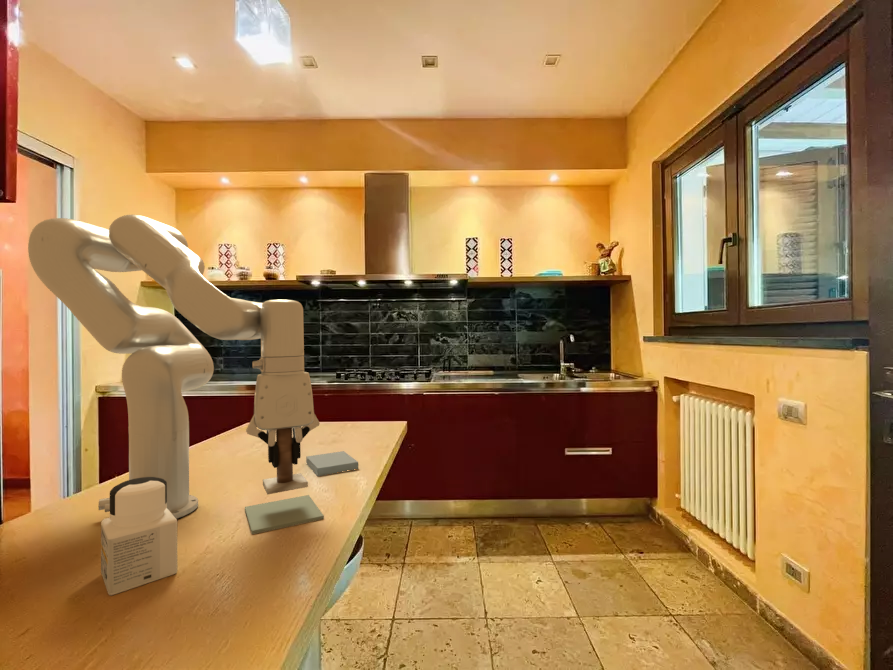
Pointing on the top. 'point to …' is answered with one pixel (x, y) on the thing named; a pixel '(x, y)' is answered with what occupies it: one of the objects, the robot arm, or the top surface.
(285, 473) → the brown upright post
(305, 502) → the mat
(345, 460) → the tile
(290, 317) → the robot arm
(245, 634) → the top surface
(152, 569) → the container
